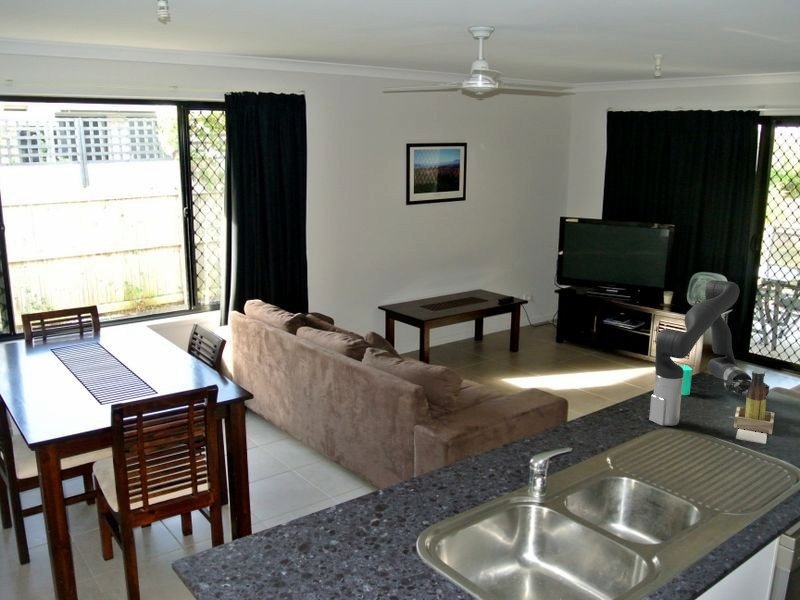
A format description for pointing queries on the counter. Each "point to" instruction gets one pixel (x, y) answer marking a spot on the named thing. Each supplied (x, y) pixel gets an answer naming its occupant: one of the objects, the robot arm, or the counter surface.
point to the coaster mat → (751, 436)
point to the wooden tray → (753, 421)
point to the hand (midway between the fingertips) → (753, 393)
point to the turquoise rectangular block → (686, 380)
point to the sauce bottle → (756, 397)
